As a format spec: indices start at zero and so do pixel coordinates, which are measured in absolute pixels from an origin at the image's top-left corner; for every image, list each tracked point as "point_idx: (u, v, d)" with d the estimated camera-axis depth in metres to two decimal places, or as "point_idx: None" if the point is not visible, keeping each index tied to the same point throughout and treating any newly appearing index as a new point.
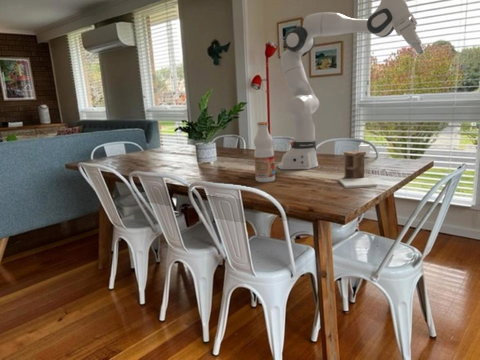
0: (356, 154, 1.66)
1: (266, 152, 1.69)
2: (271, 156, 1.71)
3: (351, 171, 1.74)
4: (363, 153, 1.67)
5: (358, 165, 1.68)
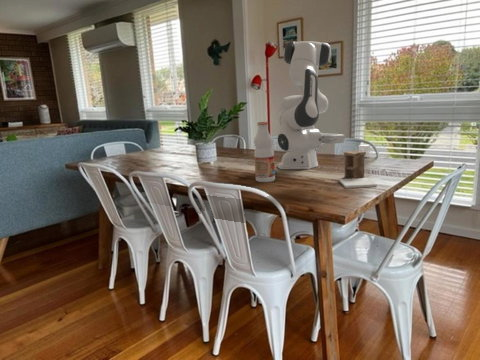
0: (356, 154, 1.66)
1: (266, 152, 1.69)
2: (271, 156, 1.71)
3: (351, 171, 1.74)
4: (363, 153, 1.67)
5: (358, 165, 1.68)
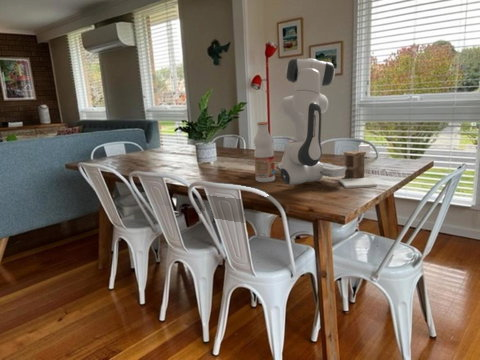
0: (356, 154, 1.66)
1: (266, 152, 1.69)
2: (271, 156, 1.71)
3: (351, 171, 1.74)
4: (363, 153, 1.67)
5: (358, 165, 1.68)
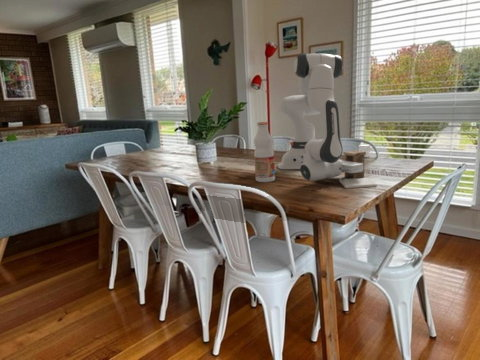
0: (356, 154, 1.66)
1: (266, 152, 1.69)
2: (271, 156, 1.71)
3: None
4: (363, 153, 1.67)
5: None
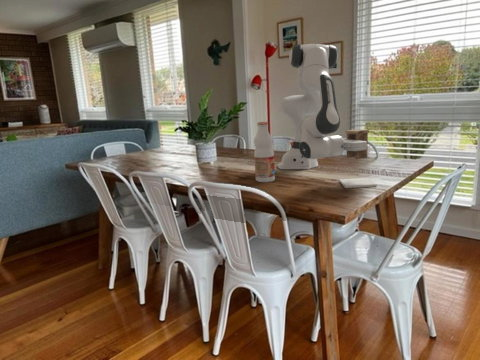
0: (359, 132, 1.55)
1: (266, 152, 1.69)
2: (271, 156, 1.71)
3: (353, 151, 1.63)
4: (366, 131, 1.57)
5: None
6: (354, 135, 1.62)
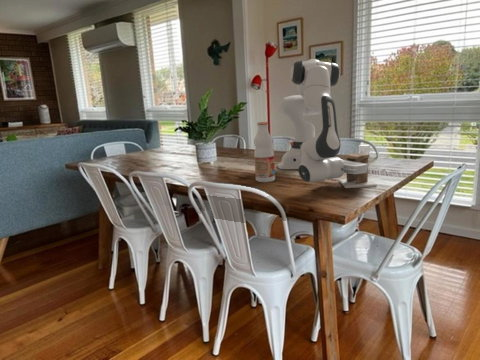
0: (359, 157, 1.53)
1: (266, 152, 1.69)
2: (271, 156, 1.71)
3: (353, 175, 1.61)
4: (367, 156, 1.55)
5: None
6: (354, 159, 1.60)
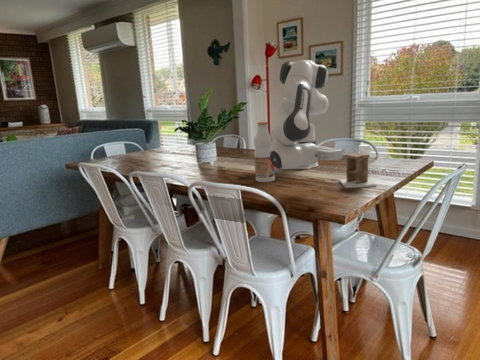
0: (359, 157, 1.53)
1: (266, 152, 1.69)
2: None
3: (353, 175, 1.61)
4: (367, 156, 1.55)
5: (361, 169, 1.55)
6: (354, 159, 1.60)
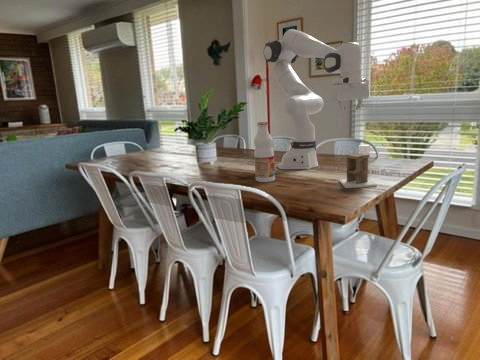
0: (359, 157, 1.53)
1: (266, 152, 1.69)
2: (271, 156, 1.71)
3: (353, 175, 1.61)
4: (367, 156, 1.55)
5: (361, 169, 1.55)
6: (354, 159, 1.60)
